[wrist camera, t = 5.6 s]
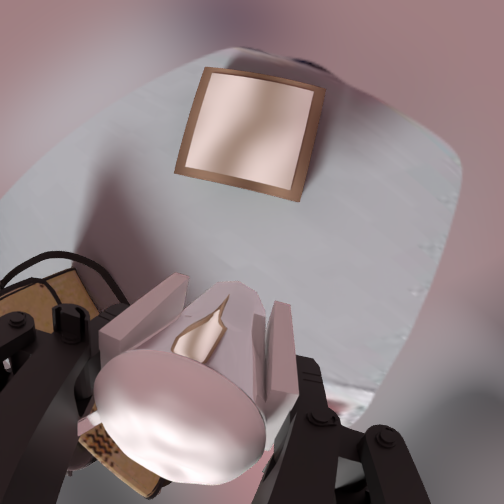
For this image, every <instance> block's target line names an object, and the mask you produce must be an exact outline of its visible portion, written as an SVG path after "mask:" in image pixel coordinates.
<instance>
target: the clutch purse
mask: <svg viewBox="0 0 504 504" xmlns="http://www.w3.org/2000/svg"><path fill="white" fill-rule="evenodd" d="M49 258H65V259H70V260H74V261H77V262H80V263H82V264H85V265H87V266H89V267H91V268H93V269H94V270H96V271H97V272H98V273H99V274H100V275H101V276H102V277H103V278H104V279H105V281H106V282H107V284H108V285H109V286H110V288H111V289H112V291H113V292H114V294H115V295H116V297H117V298H118V300H119V301H120V303H124V304H126V305H129V306H130V304H129V303H128V301H127V300H126V298H125V297H124V295H123V294H122V292H121V291H120V289H119V288H118V286H117V285H116V283H115V282H114V280H113V279H112V278H111V276H110V275H109V274H108V272H107V271H106V270H105V269H104V268H103V267H102V266H100V265H99V264H97V263H96V262H94V261H92V260H90V259H88V258H86V257H83V256H80V255H78V254H74V253H71V252H65V251H49V252H44V253H42V254H39V255H37V256H35V257H33V258H31V259H29V260H27V261H25V262H24V263H22V264H20V265H18V266H17V267H15V268H14V269H13V270H11V271H10V272H9V273H8V274H7V275H6V276H5V277H4V278H3V279H2V280H1V281H0V317H1V316H3V315H5V314H7V313H10V312H14V311H21V312H26V313H28V314H30V315H31V316H32V317H33V318H34V322H35V329H37V330H41V331H44V332H47V333H50V334H51V333H52V332H53V331H54V330H53V319H52V307H54V306H56V305H59V304H63V303H70V304H76V305H79V306H82V307H84V308H85V309H86V310H87V311H88V312H89V314H90V320H91V319H93V318H94V317H96V316H98V315H99V312H98V310H97V309H96V307H95V305H94V304H93V302H92V300H91V299H90V297H89V295H88V293H87V292H86V290H85V288H84V286H83V284H82V282H81V281H80V279H79V277H78V275H77V273H76V271H75V270H76V269H75V268H69V269H66V270H63V271H60V272H58V273H55V274H52V275H50V276H48V277H45V278H43V279H40V278H33V277H31V278H28V279H26V280H23V281H20V282H18V283H15V284H13V285H10V286H8V287H6V288H4V287H5V286H6V284H7V283H8V282H9V281H10V280H11V279H12V278H13V277H15V276H16V275H17V274H19V273H20V272H22V271H23V270H25V269H27V268H29V267H30V266H32V265H34V264H36V263H38V262H40V261H43V260H45V259H49ZM96 410H97V406H96V403H94V406H93V408H92V410H91V412H90V414H91V413H92V412H94V411H96ZM79 442H80V443H81V444H82V445H83V446H84V447H85V448H86V449H87V450H88V451H89V452H90V453H91V454H92V455H93V456H94V457H95V458H97V459H98V460H99V461H100V462H101V463H102V464H103V465H104V466H105V467H107V468H108V469H109V470H110V471H111V472H112V473H114V474H115V475H116V476H117V477H118V478H120V479H121V480H122V481H124V482H125V483H126V484H127V485H129V486H130V487H131V488H133V489H134V490H135V491H137V492H138V493H139V494H141V495H142V496H143V497H144V498H146V499H148V500H149V499H153V498H154V497H156V495H158V494H160V492H161V488H162V487H164V486H166V485H168V484H170V483H171V482H173V481H170V480H167V479H165V478H163V477H161V476H159V475H157V474H155V473H154V472H152V471H150V470H148V469H147V468H145V467H143V466H142V465H140V464H138V463H137V462H135V461H134V460H132V459H130V458H129V457H128V456H127V455H125V454H124V453H123V451H122V450H121V449H120V448H119V447H118V445H117V444H116V443H115V441H114V440H113V439H112V438H111V437H110V435H109V434H108V433H107V431H106V430H105V428H104V426H103V424H102V423H101V424H99V425H97V426H96V427H94V428H92V429H90V430H89V431H87V432H85V433H84V434H82V435H81V436H80V438H79ZM159 491H160V492H159Z"/></svg>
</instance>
